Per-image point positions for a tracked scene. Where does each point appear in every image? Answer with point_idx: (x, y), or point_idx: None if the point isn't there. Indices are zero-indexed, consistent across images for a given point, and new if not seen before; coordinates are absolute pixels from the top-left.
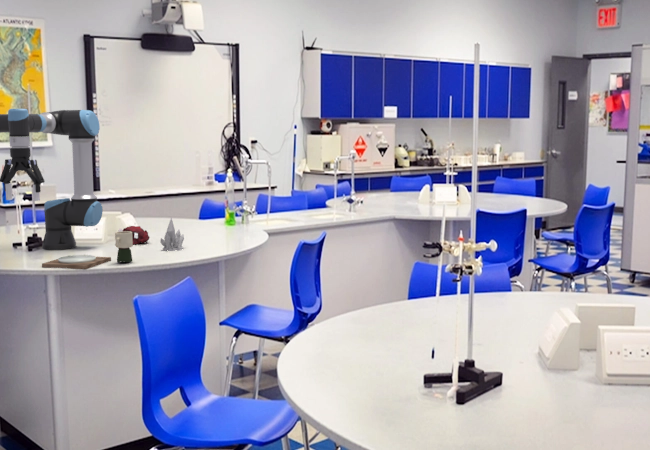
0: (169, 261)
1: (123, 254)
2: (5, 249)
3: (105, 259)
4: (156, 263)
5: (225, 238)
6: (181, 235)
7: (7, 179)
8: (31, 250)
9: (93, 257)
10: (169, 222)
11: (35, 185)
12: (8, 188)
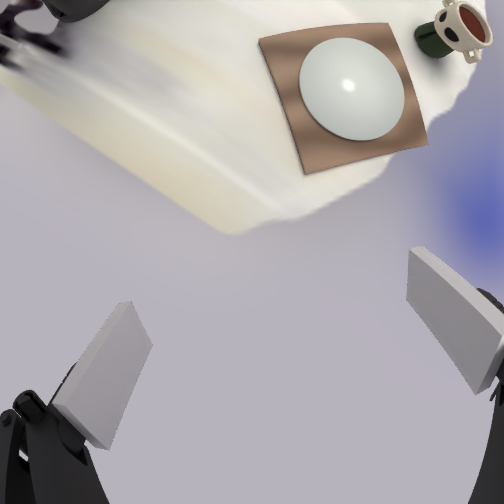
0: None
1: (451, 51)
2: (12, 91)
3: (398, 48)
4: None
5: None
6: None
7: (101, 489)
8: (59, 48)
9: (387, 65)
10: None
11: (491, 367)
12: (114, 402)
